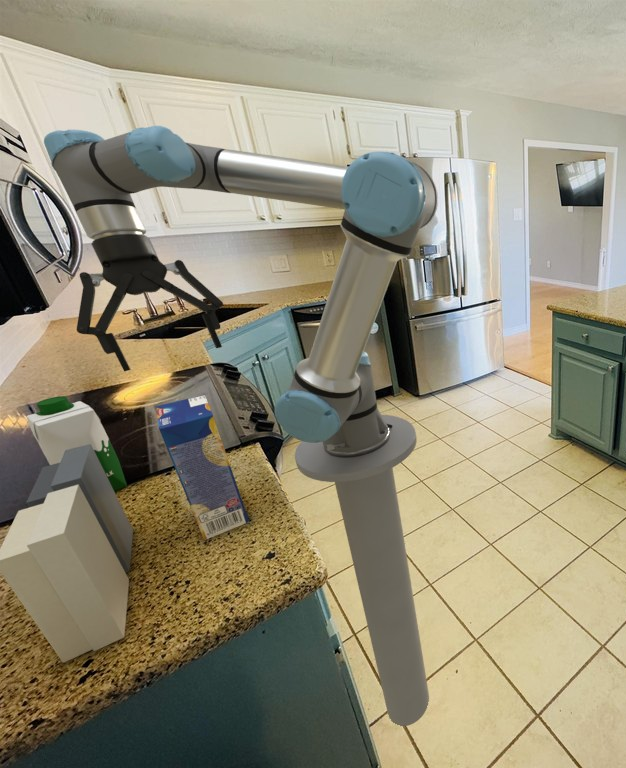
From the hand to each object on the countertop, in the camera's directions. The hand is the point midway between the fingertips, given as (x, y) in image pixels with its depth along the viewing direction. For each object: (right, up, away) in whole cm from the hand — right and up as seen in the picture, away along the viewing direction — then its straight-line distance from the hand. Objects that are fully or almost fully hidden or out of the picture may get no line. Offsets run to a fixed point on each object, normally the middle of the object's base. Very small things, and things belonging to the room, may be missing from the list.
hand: (176, 358), depth 74 cm
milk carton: (-24, -27, +10) cm, 38 cm away
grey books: (-6, -33, -7) cm, 35 cm away
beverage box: (+7, -29, +2) cm, 30 cm away
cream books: (+3, -38, -17) cm, 41 cm away
